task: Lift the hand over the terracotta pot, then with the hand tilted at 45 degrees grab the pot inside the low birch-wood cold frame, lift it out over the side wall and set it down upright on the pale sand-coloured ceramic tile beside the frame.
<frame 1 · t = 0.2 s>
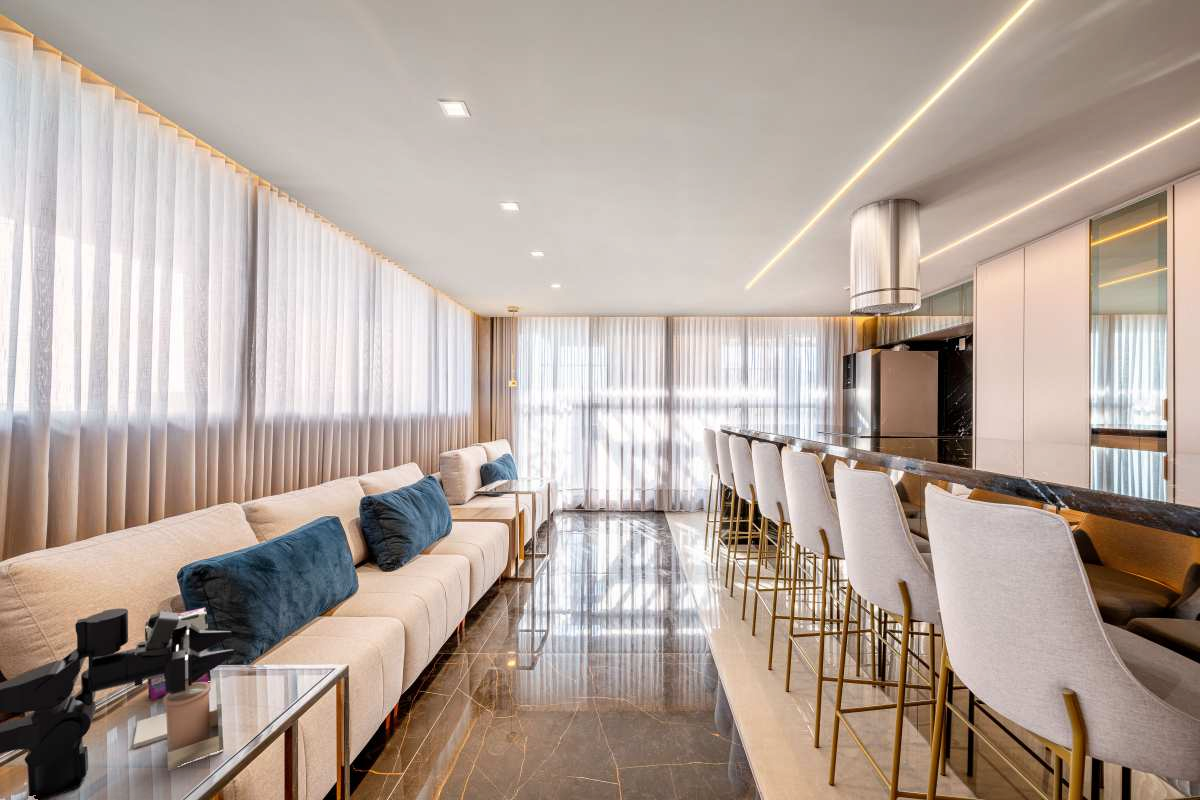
hand: (232, 642, 106), 17 cm above the table, tool horizontal, fingers open, 9 cm apart
candy bar box: (180, 688, 122), on the table
terracotta pot: (189, 747, 101), resting in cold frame
ceramic tile: (165, 727, 107), on the table
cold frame: (189, 747, 101), on the table
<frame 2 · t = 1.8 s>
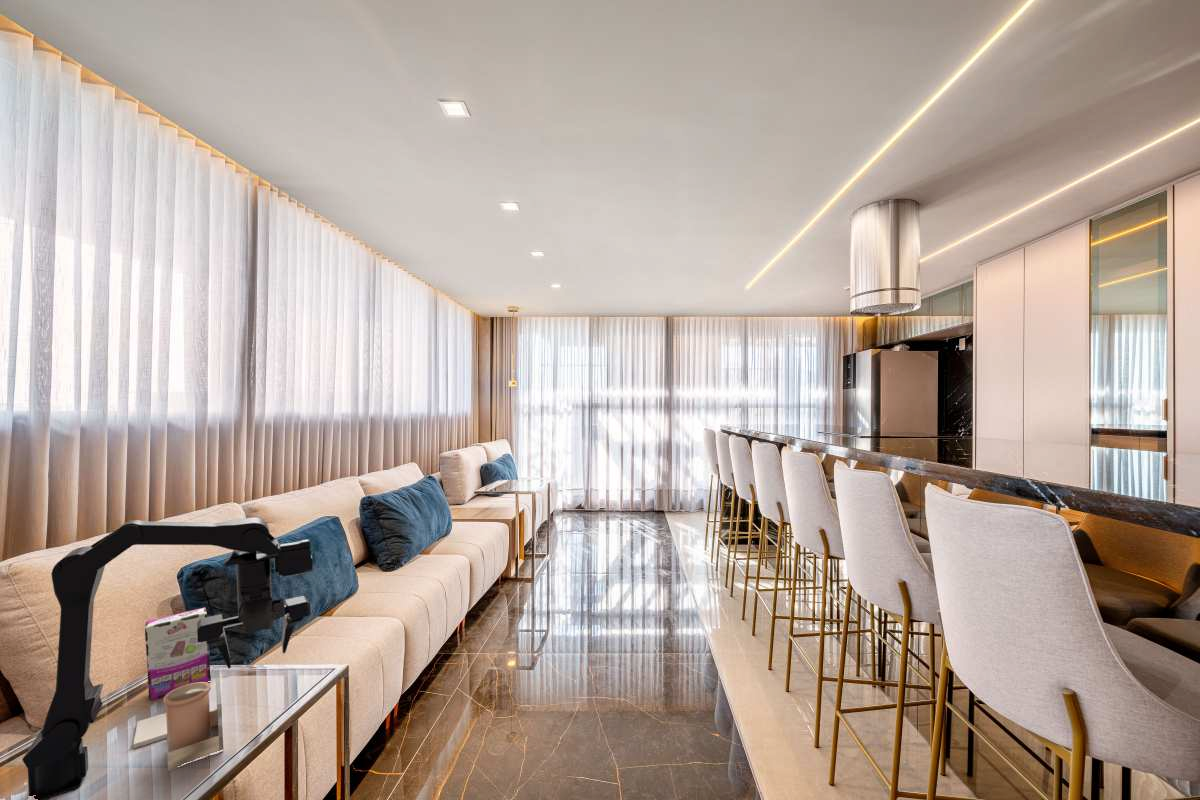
hand: (257, 659, 107), 13 cm above the table, tool pointing down, fingers open, 9 cm apart
nothing on the table moved.
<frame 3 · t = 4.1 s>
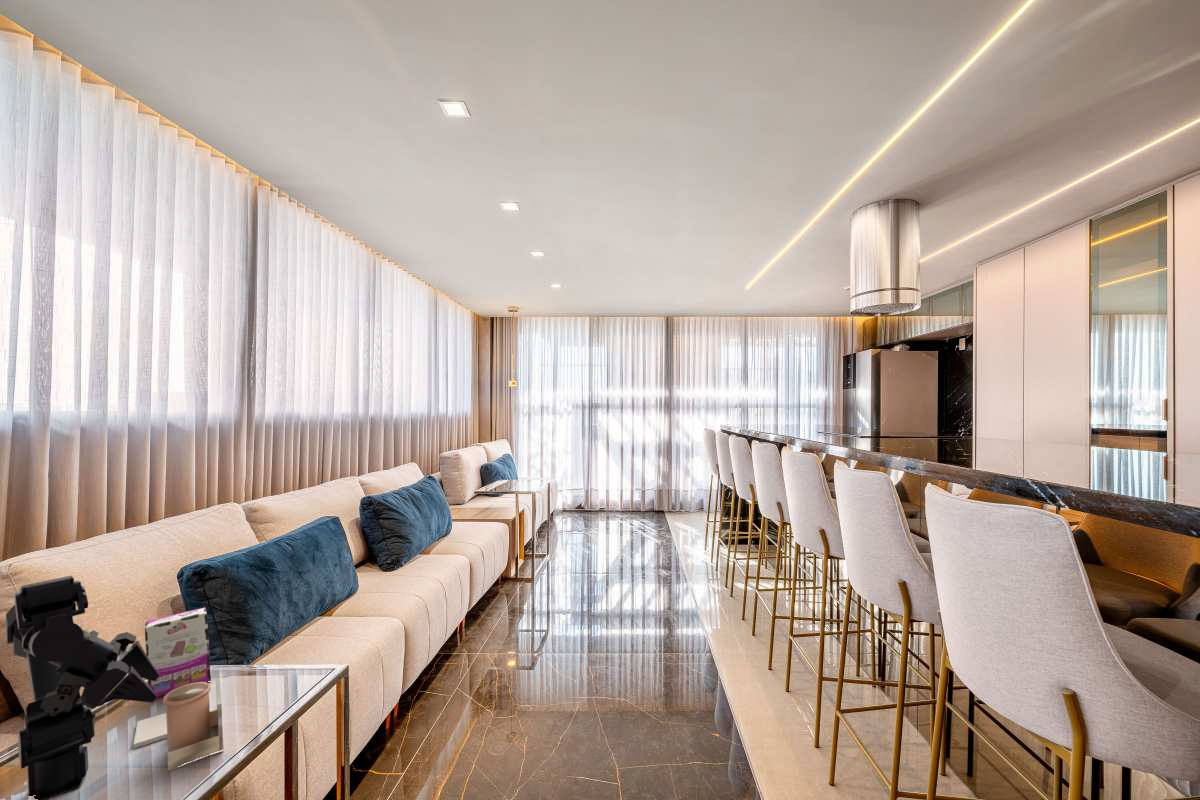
hand: (155, 688, 98), 13 cm above the table, tool tilted 45°, fingers open, 9 cm apart
nothing on the table moved.
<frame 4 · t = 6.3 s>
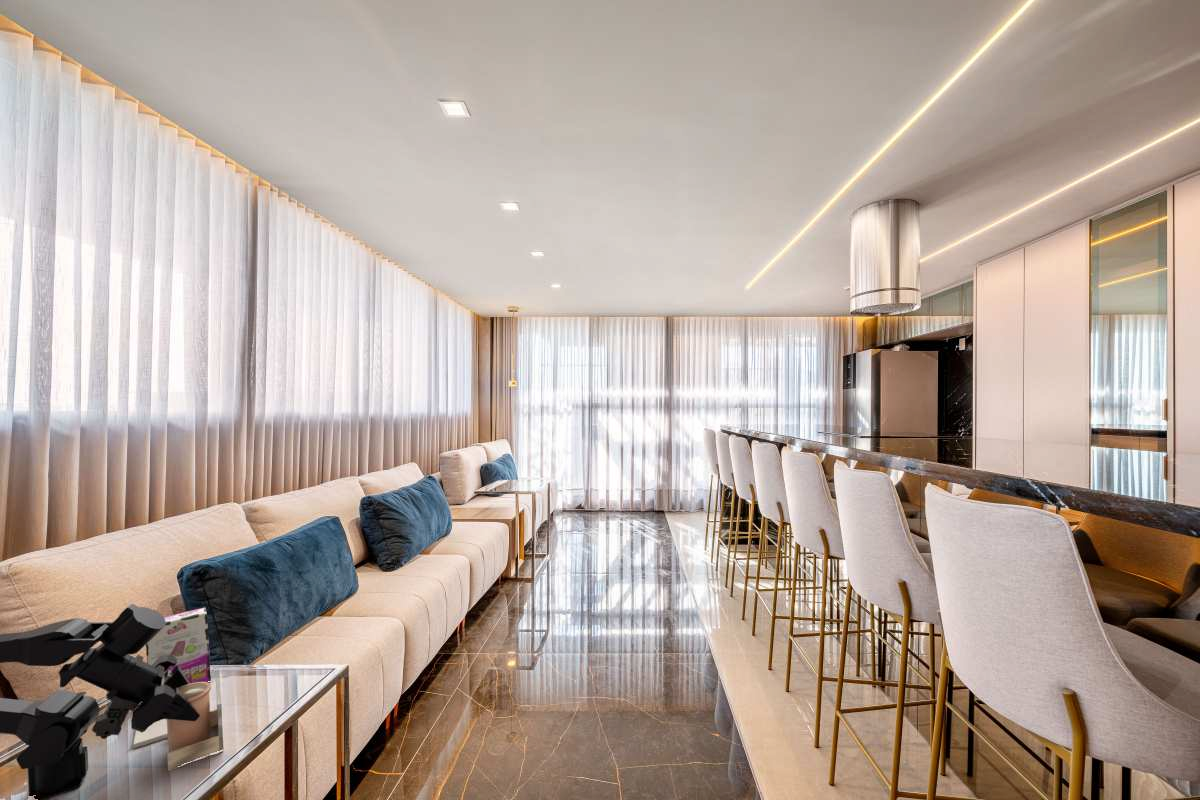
hand: (197, 709, 101), 7 cm above the table, tool tilted 45°, fingers closed on terracotta pot, 6 cm apart
terracotta pot: (190, 747, 101), resting in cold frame, touching gripper
everything else where it was.
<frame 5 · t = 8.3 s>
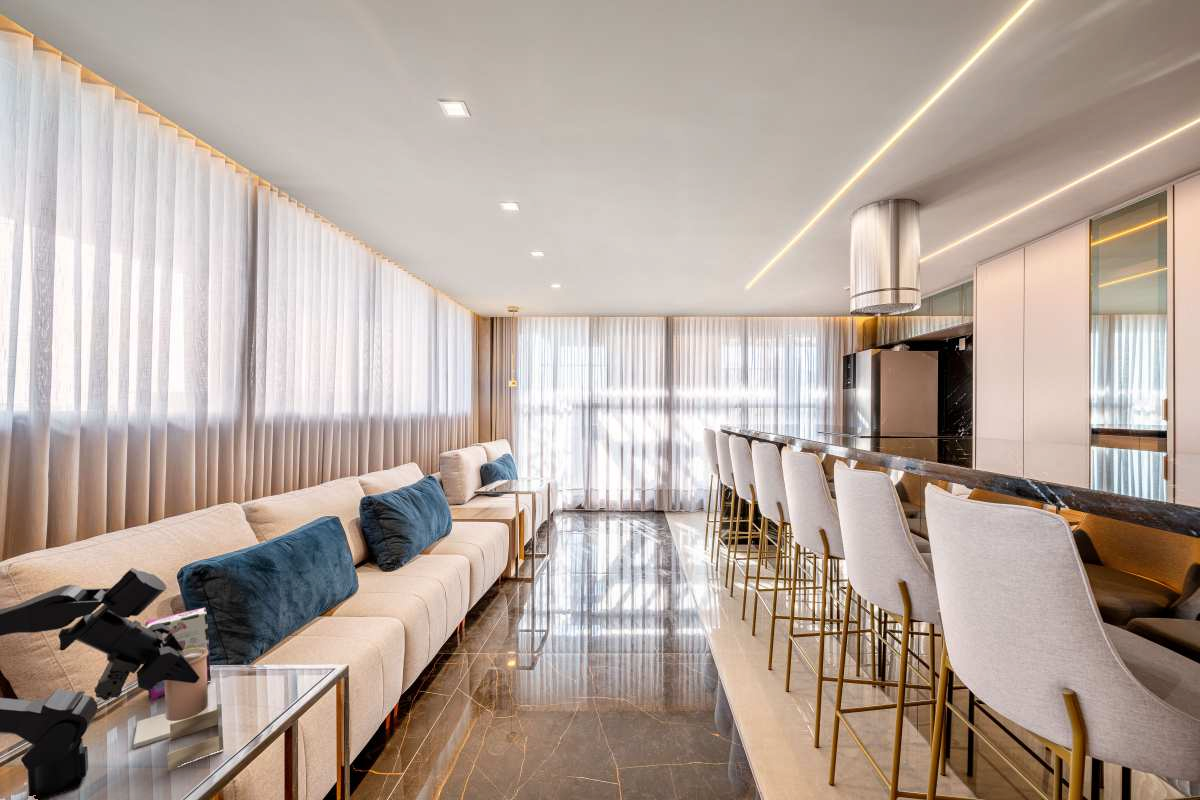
hand: (194, 673, 103), 12 cm above the table, tool tilted 45°, fingers closed on terracotta pot, 6 cm apart
terracotta pot: (187, 710, 103), point 6 cm above the table, touching gripper
everything else where it was.
when the fingers open (8 cm above the table, at t = 10.5 s): terracotta pot drops 1 cm, resting on ceramic tile.
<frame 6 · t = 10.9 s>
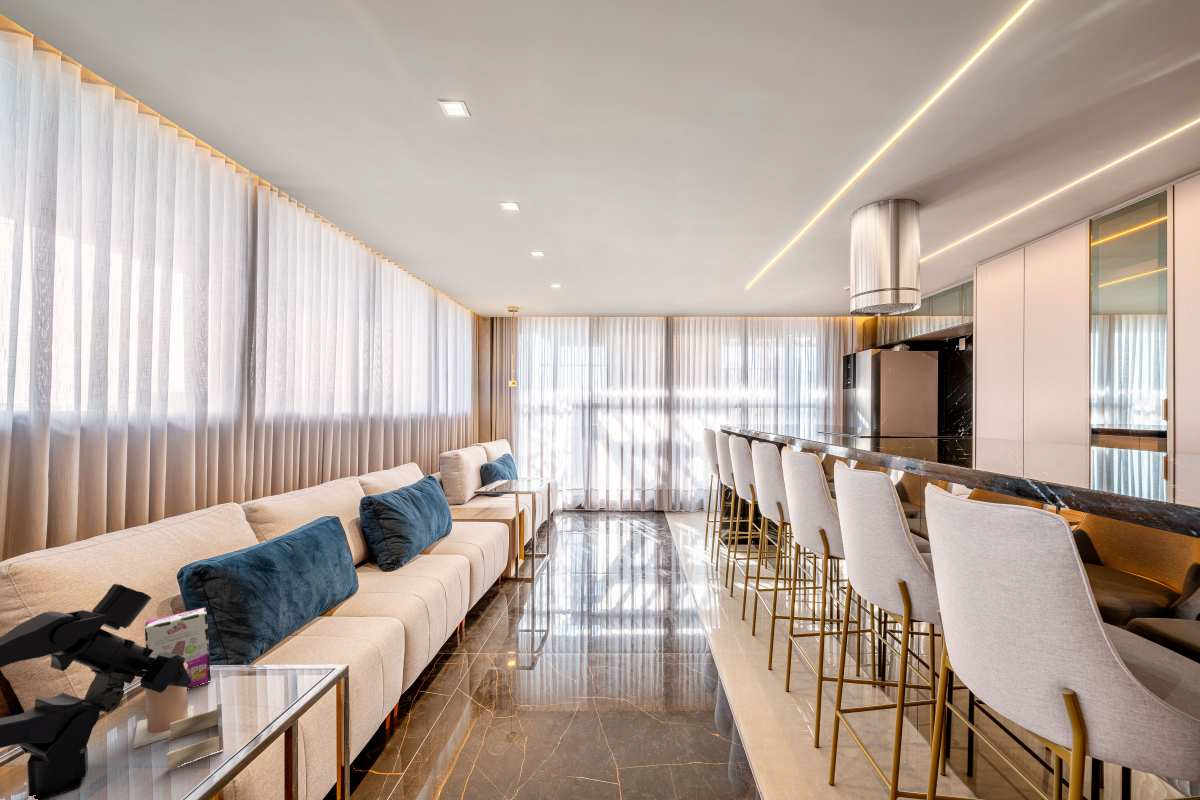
hand: (174, 680, 108), 9 cm above the table, tool tilted 45°, fingers open, 9 cm apart
terracotta pot: (167, 722, 107), point 1 cm above the table, touching ceramic tile
everything else where it was.
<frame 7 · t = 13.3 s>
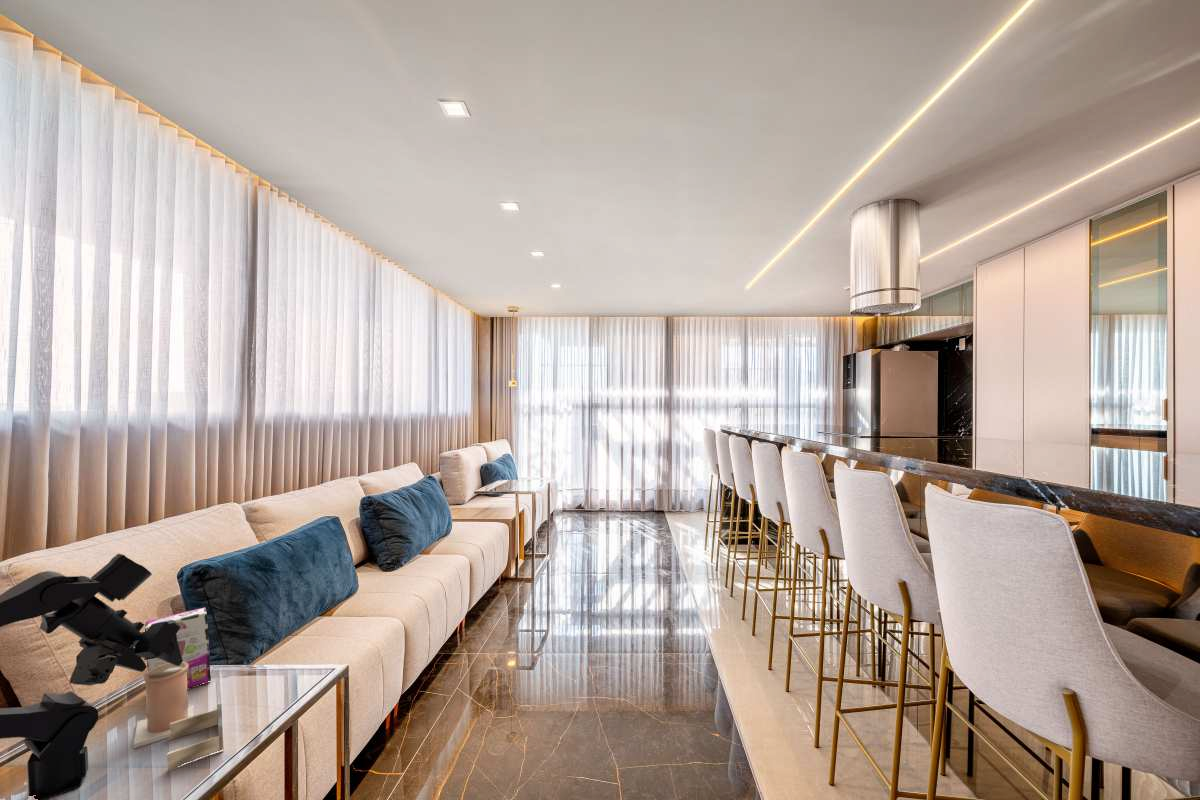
hand: (162, 666, 105), 13 cm above the table, tool tilted 35°, fingers open, 9 cm apart
nothing on the table moved.
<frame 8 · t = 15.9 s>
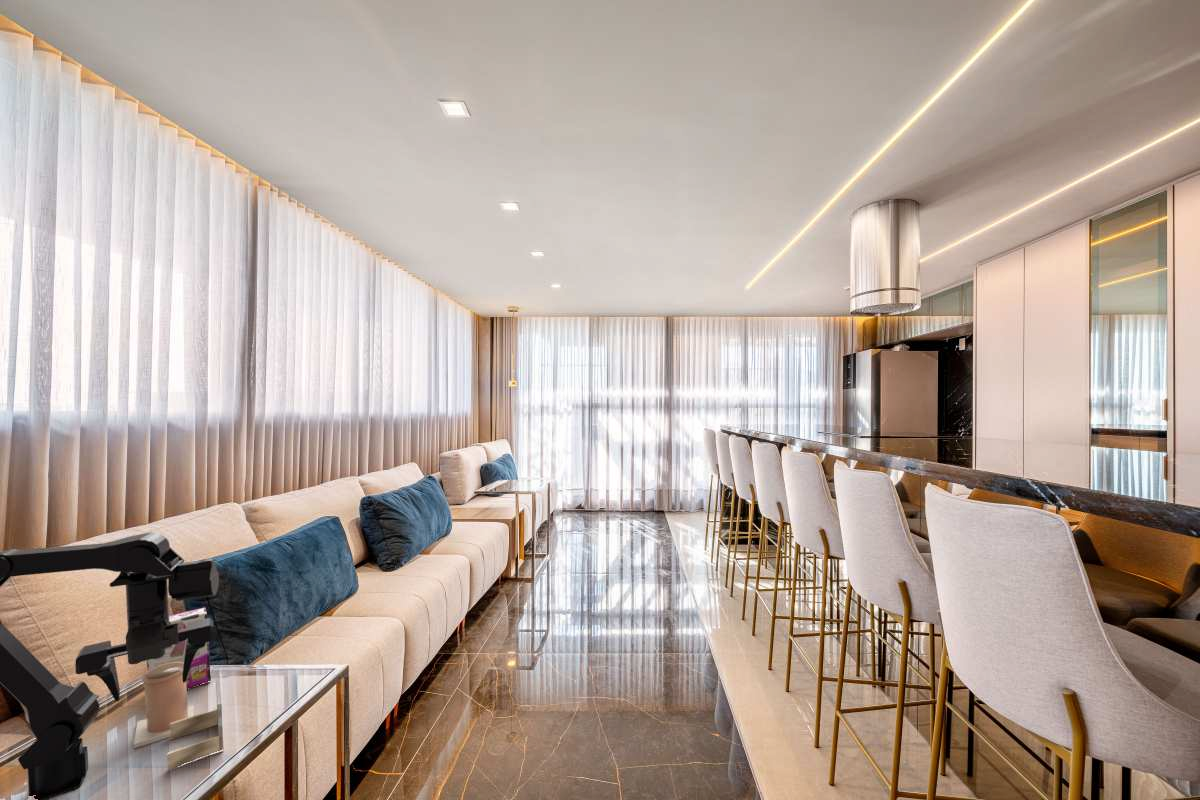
hand: (152, 690, 97), 13 cm above the table, tool pointing down, fingers open, 9 cm apart
nothing on the table moved.
at the end: terracotta pot 0.4 cm off-centre on the ceramic tile, point 0.9 cm above the ceramic tile's base; terracotta pot tilted 1°; the gripper is holding nothing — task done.
